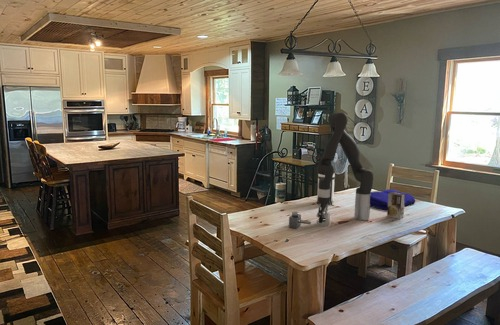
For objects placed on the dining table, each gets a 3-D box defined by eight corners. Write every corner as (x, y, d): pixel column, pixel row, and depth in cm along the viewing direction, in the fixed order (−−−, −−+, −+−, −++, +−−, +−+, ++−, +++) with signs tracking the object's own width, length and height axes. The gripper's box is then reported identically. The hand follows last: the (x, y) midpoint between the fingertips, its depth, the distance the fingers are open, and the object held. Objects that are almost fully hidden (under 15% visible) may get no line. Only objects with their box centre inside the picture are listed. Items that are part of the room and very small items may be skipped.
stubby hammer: (311, 227, 230) (312, 213, 229) (308, 231, 223) (308, 216, 222) (293, 224, 235) (293, 210, 234) (288, 228, 228) (289, 213, 226)
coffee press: (310, 201, 288) (311, 163, 283) (327, 199, 294) (329, 162, 290) (323, 207, 273) (324, 167, 268) (341, 205, 279) (343, 165, 274)
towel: (416, 204, 287) (417, 192, 285) (390, 212, 265) (391, 200, 263) (385, 197, 307) (386, 186, 305) (358, 204, 285) (359, 192, 284)
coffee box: (403, 217, 252) (405, 193, 250) (400, 219, 248) (401, 195, 245) (390, 214, 259) (392, 191, 256) (386, 216, 254) (388, 193, 251)
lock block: (329, 224, 236) (330, 212, 235) (328, 226, 232) (328, 215, 230) (318, 222, 239) (318, 211, 238) (316, 225, 235) (316, 213, 233)
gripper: (327, 199, 225) (325, 225, 227) (332, 194, 237) (331, 218, 240) (314, 197, 228) (313, 223, 230) (320, 192, 240) (319, 216, 243)
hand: (322, 220), depth 235 cm, fingers open, 8 cm apart
